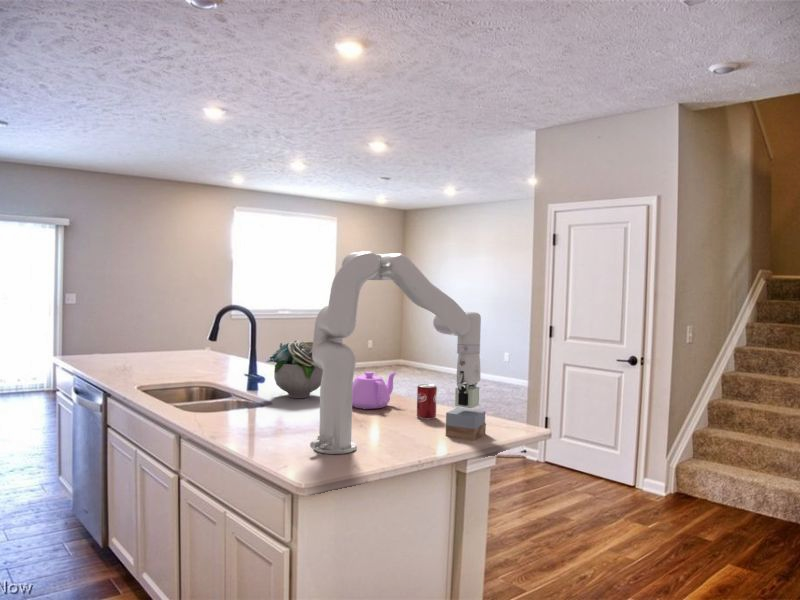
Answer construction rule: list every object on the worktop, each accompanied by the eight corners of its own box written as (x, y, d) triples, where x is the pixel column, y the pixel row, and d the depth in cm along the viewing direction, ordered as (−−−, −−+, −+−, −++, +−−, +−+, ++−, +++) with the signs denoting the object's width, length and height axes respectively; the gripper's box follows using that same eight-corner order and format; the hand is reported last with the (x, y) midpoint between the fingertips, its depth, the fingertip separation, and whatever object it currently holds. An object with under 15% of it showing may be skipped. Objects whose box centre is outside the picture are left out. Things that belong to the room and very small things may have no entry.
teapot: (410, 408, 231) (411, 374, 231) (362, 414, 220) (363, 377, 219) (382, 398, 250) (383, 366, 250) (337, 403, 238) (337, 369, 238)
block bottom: (473, 441, 186) (474, 429, 186) (445, 436, 191) (445, 424, 191) (485, 435, 195) (485, 423, 195) (458, 430, 200) (458, 418, 200)
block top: (474, 429, 186) (475, 416, 186) (445, 424, 191) (446, 412, 191) (485, 423, 195) (485, 411, 195) (457, 419, 200) (457, 407, 200)
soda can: (419, 420, 212) (420, 387, 212) (414, 415, 219) (414, 384, 219) (438, 419, 214) (439, 387, 213) (432, 415, 221) (433, 383, 220)
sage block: (471, 408, 189) (472, 390, 189) (455, 405, 192) (455, 387, 192) (478, 405, 194) (479, 387, 194) (462, 402, 197) (462, 385, 197)
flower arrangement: (303, 405, 232) (304, 344, 232) (257, 397, 245) (258, 339, 244) (340, 395, 254) (341, 339, 253) (295, 389, 266) (296, 336, 266)
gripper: (468, 352, 183) (467, 409, 184) (488, 348, 198) (487, 400, 199) (447, 350, 187) (445, 406, 187) (468, 346, 202) (466, 397, 202)
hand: (467, 402), depth 193 cm, fingers closed on sage block, 6 cm apart
